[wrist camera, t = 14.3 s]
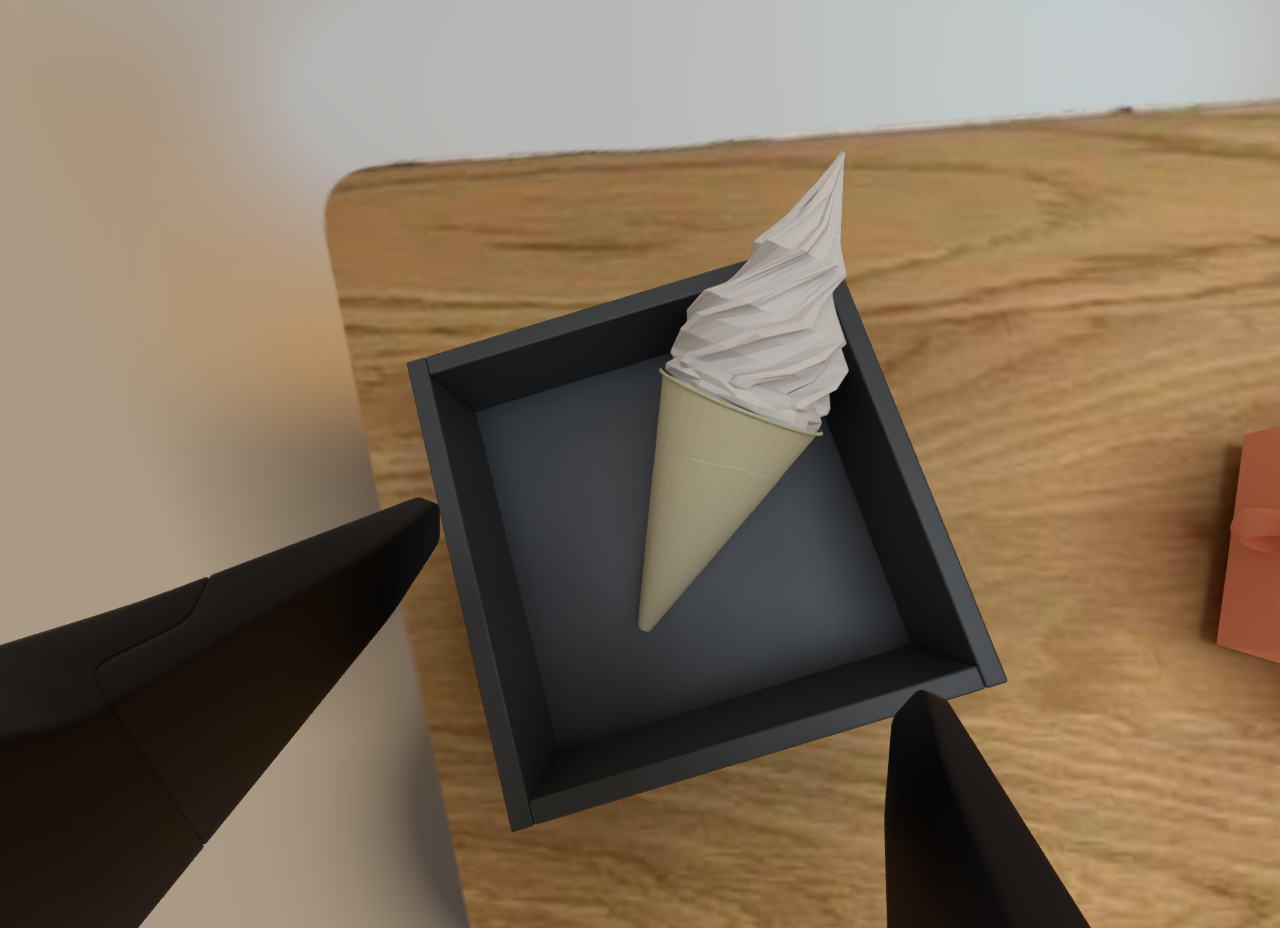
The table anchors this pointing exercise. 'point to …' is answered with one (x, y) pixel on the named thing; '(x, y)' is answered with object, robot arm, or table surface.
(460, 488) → the storage bin
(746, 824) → the table surface
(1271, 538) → the teapot
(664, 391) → the ice cream cone
